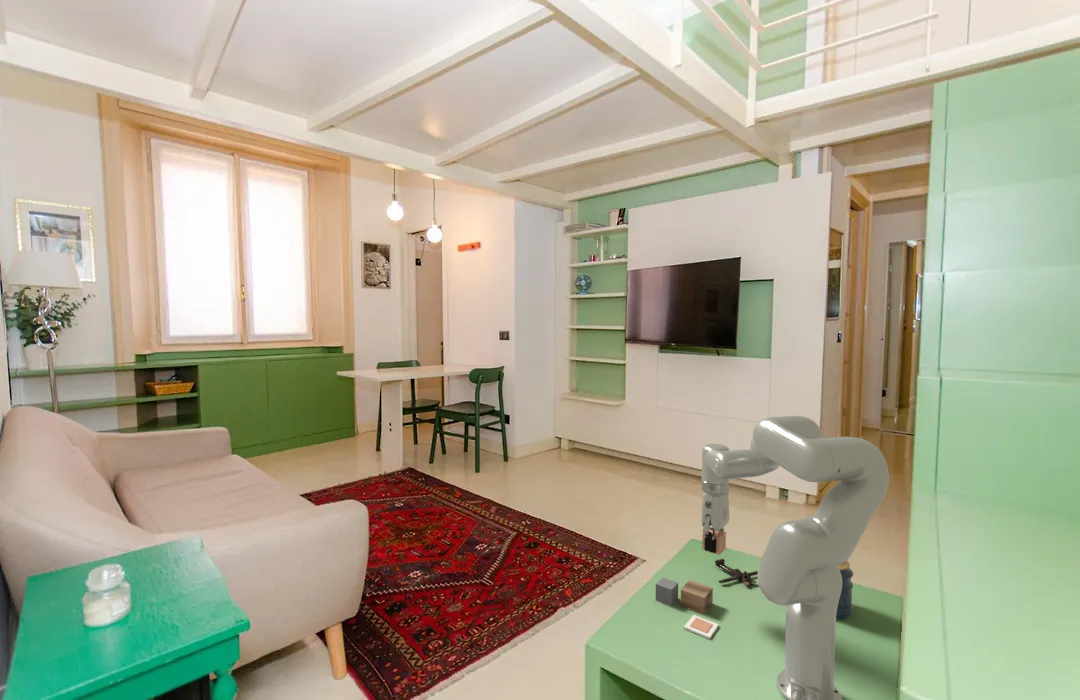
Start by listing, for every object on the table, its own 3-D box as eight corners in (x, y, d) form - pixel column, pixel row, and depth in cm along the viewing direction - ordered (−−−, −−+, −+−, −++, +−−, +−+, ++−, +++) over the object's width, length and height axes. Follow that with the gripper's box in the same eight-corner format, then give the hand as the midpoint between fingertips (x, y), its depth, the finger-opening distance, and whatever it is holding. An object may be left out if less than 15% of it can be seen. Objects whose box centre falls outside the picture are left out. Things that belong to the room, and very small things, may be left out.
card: (709, 639, 122) (709, 636, 122) (683, 628, 126) (683, 626, 126) (718, 626, 127) (718, 623, 127) (693, 616, 132) (693, 614, 131)
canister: (863, 617, 131) (865, 556, 130) (822, 622, 129) (824, 560, 128) (828, 592, 144) (829, 536, 143) (790, 596, 142) (791, 539, 141)
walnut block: (704, 615, 133) (704, 598, 132) (680, 606, 137) (680, 589, 137) (712, 604, 138) (712, 587, 138) (689, 595, 142) (689, 579, 142)
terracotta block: (719, 555, 132) (719, 537, 132) (702, 549, 136) (702, 532, 135) (725, 548, 136) (725, 532, 136) (708, 543, 139) (709, 527, 139)
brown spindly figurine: (738, 553, 164) (772, 568, 150) (739, 566, 164) (773, 582, 150) (697, 562, 157) (729, 579, 144) (698, 575, 157) (730, 593, 143)
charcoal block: (671, 606, 137) (671, 589, 137) (655, 600, 140) (655, 584, 140) (678, 598, 141) (678, 582, 140) (662, 593, 144) (662, 577, 144)
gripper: (717, 498, 126) (716, 563, 127) (738, 482, 139) (736, 541, 140) (690, 491, 131) (689, 554, 132) (713, 477, 144) (712, 534, 145)
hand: (713, 547), depth 136 cm, fingers closed on terracotta block, 5 cm apart
